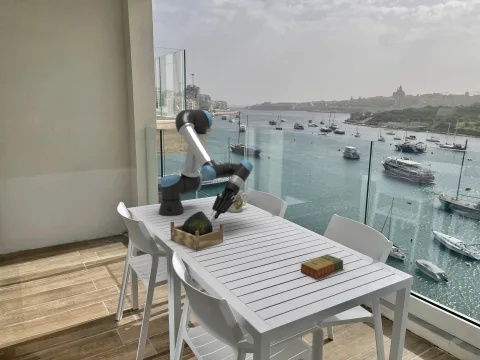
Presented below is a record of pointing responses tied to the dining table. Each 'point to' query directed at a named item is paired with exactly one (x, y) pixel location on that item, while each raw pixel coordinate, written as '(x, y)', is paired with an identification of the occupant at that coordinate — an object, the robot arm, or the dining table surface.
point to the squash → (197, 224)
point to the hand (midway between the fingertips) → (210, 223)
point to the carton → (321, 266)
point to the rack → (196, 237)
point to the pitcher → (238, 202)
